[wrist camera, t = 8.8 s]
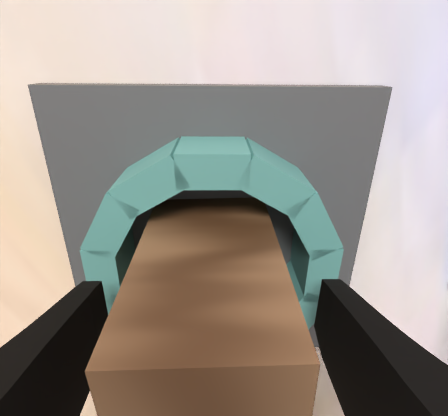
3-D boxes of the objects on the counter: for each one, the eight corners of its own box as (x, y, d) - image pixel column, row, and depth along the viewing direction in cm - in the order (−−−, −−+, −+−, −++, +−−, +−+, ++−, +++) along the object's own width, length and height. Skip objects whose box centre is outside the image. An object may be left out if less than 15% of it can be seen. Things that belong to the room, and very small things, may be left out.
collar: (381, 85, 12) (435, 94, 9) (331, 334, 18) (354, 390, 15) (39, 83, 12) (-20, 91, 9) (95, 337, 17) (70, 395, 14)
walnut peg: (262, 197, 13) (320, 363, 6) (259, 282, 15) (300, 488, 8) (156, 199, 13) (84, 371, 6) (166, 284, 15) (120, 495, 8)
